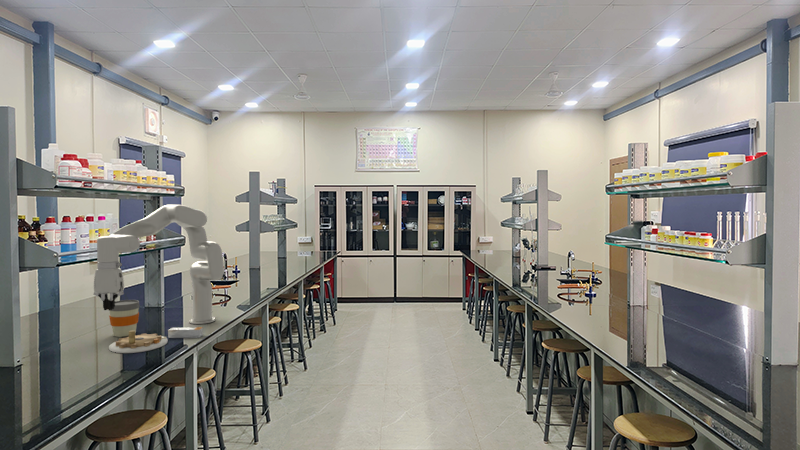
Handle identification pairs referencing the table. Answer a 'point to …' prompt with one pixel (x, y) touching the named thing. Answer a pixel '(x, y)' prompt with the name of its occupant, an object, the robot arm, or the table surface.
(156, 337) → the sprocket wheel
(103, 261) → the robot arm
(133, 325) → the reusable coffee cup
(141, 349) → the base plate
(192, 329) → the white rectangular box
